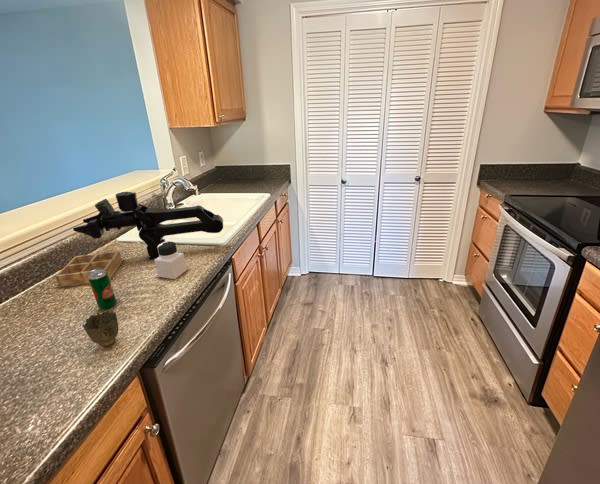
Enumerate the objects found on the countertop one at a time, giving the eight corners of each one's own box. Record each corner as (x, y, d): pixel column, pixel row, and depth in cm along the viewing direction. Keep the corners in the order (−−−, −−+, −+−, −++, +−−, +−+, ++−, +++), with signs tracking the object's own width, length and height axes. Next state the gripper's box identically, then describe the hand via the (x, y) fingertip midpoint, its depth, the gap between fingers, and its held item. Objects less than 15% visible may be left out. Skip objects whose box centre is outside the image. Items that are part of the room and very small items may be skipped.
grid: (122, 261, 129) (119, 250, 127) (109, 280, 115) (105, 269, 113) (78, 266, 127) (74, 256, 125) (59, 287, 112) (54, 276, 110)
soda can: (109, 311, 98) (97, 277, 93) (95, 310, 99) (82, 276, 94) (120, 301, 102) (110, 268, 97) (107, 300, 103) (95, 267, 98)
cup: (100, 335, 87) (91, 311, 84) (128, 332, 88) (120, 308, 85) (86, 355, 81) (76, 329, 77) (116, 352, 81) (107, 327, 78)
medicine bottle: (187, 270, 120) (181, 240, 115) (174, 279, 113) (167, 248, 109) (171, 267, 122) (164, 238, 117) (158, 277, 116) (150, 246, 111)
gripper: (123, 193, 129) (81, 197, 126) (109, 207, 112) (59, 212, 110) (131, 219, 134) (90, 224, 131) (118, 236, 117) (70, 242, 114)
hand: (78, 225), depth 121 cm, fingers open, 9 cm apart
